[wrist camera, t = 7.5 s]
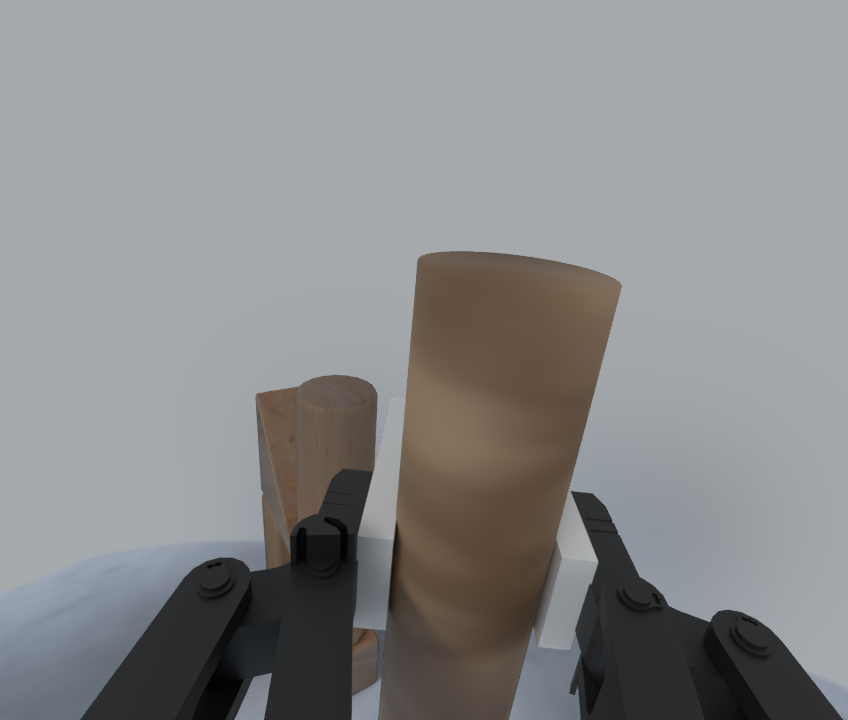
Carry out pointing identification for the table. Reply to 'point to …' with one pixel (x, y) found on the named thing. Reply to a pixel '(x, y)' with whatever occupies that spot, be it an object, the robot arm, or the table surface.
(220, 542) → the table surface
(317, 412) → the wooden block stack
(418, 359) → the wooden cylinder
